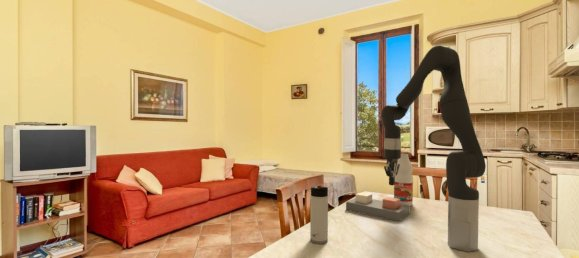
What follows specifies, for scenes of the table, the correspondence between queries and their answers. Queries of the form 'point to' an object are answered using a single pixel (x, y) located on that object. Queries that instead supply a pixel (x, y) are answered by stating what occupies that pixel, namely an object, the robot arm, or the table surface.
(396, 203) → the brick-red key
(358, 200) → the off-white key
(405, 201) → the fruit juice
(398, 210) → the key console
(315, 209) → the travel mug
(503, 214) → the table surface
